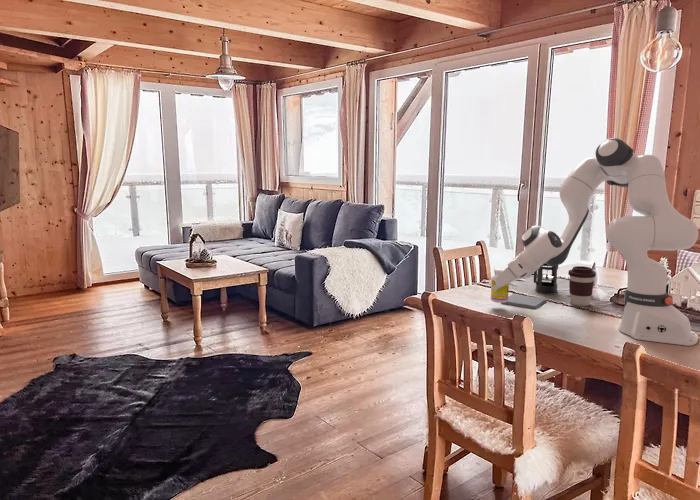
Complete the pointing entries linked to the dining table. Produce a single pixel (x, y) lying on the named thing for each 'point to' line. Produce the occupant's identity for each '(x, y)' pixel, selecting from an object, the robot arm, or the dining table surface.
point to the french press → (546, 286)
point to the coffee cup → (581, 285)
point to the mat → (525, 301)
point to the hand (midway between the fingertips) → (498, 287)
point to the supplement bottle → (502, 292)
